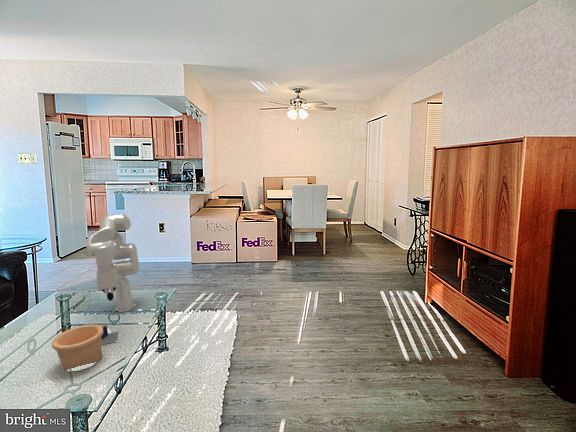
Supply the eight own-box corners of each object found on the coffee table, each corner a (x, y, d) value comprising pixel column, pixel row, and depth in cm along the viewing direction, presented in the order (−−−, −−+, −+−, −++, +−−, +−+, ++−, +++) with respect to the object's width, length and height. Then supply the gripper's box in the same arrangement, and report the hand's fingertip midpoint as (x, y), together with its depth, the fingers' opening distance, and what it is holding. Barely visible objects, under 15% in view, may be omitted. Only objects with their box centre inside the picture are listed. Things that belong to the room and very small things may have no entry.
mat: (78, 340, 198) (78, 340, 198) (118, 332, 205) (118, 331, 205) (74, 351, 187) (74, 351, 187) (116, 342, 194) (116, 341, 194)
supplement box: (99, 330, 195) (81, 330, 197) (101, 340, 196) (83, 340, 198) (106, 324, 201) (89, 324, 203) (108, 334, 202) (91, 334, 204)
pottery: (96, 345, 193) (91, 320, 190) (115, 358, 179) (110, 331, 176) (50, 365, 176) (44, 338, 174) (68, 381, 162) (61, 352, 160)
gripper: (121, 263, 198) (126, 294, 202) (90, 268, 193) (96, 300, 197) (120, 267, 191) (125, 299, 195) (88, 272, 186) (94, 305, 190)
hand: (111, 299), depth 196 cm, fingers closed
